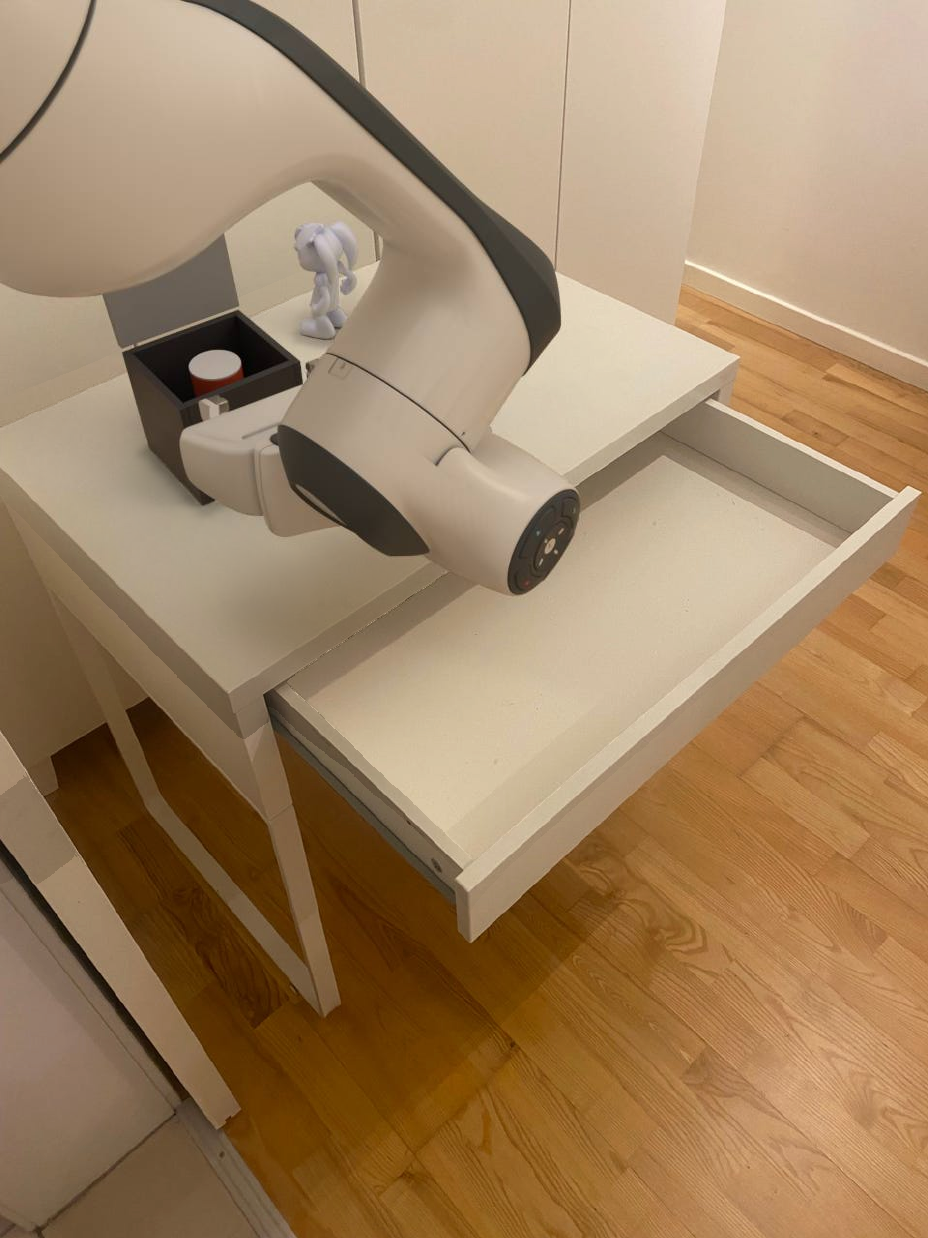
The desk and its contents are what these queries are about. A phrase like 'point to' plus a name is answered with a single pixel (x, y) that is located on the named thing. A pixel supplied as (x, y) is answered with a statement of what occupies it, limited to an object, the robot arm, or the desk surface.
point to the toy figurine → (326, 273)
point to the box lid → (174, 297)
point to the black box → (170, 389)
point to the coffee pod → (214, 371)
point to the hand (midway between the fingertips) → (262, 387)
